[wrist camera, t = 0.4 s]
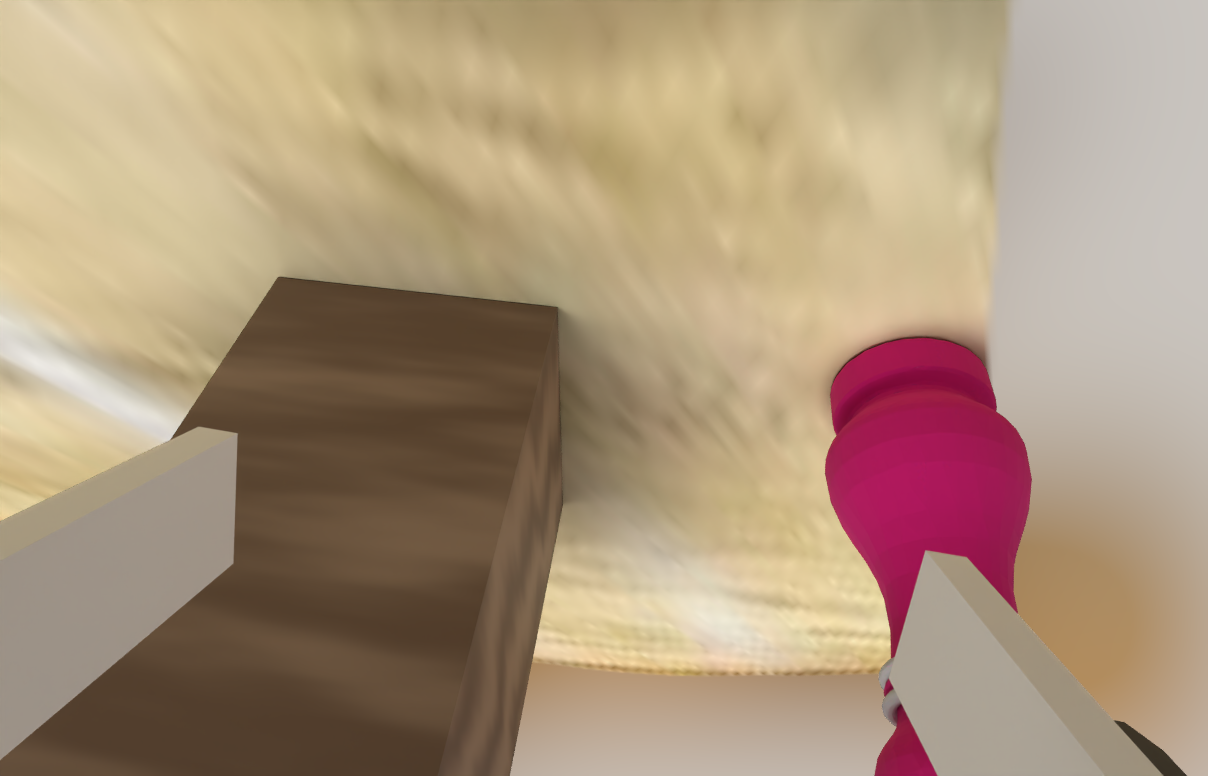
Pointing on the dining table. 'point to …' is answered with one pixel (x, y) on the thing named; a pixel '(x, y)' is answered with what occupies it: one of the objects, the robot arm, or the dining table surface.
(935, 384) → the pepper mill
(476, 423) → the wood-grain storage bin
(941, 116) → the dining table surface
